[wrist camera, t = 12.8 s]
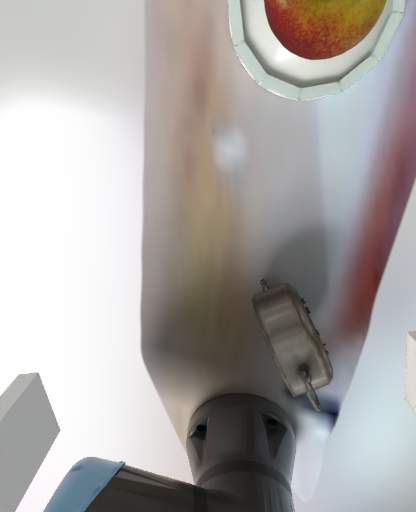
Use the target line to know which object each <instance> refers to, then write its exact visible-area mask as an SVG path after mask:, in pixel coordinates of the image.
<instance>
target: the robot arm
mask: <svg viewBox="0 0 416 512" xmlns="http://www.w3.org/2000/svg"><path fill="white" fill-rule="evenodd" d="M405 386H406V387H405V399H406V400H407V402H408V403H409V404H410V406H411V407H412V409H413V410H414V412H415V413H416V331H412V332H407V353H406V385H405ZM59 432H60V429H59V426H58V423H57V421H56V418H55V415H54V413H53V410H52V407H51V405H50V402H49V399H48V397H47V394H46V392H45V389H44V386H43V384H42V381H41V378H40V376H39V373H30V374H21V375H18V376H17V378H16V379H15V380H14V381H13V382H12V383H11V385H10V386H9V387H8V388H7V390H5V392H4V393H3V394H2V395H1V396H0V512H15V511H16V509H17V507H18V505H19V503H20V501H21V500H22V498H23V496H24V494H25V492H26V491H27V489H28V487H29V485H30V484H31V482H32V480H33V478H34V476H35V475H36V473H37V471H38V469H39V467H40V465H41V464H42V462H43V460H44V458H45V457H46V455H47V453H48V451H49V450H50V448H51V446H52V444H53V442H54V441H55V439H56V437H57V435H58V433H59ZM186 447H187V454H188V458H189V462H190V467H191V471H192V475H193V480H194V484H195V485H192V484H190V483H186V482H182V481H179V480H175V479H172V478H168V477H164V476H161V475H157V474H154V473H151V472H147V471H144V470H141V469H138V468H134V467H131V466H128V465H125V462H123V461H121V462H119V463H118V462H113V461H109V460H105V459H100V458H96V457H87V458H84V459H82V460H80V461H78V462H77V463H76V464H75V465H74V466H73V467H72V468H71V469H70V470H69V472H68V473H67V474H66V476H65V477H64V479H63V480H62V482H61V483H60V485H59V486H58V488H57V489H56V491H55V493H54V495H53V496H52V498H51V500H50V501H49V503H48V504H47V506H46V508H45V510H44V511H43V512H295V510H294V504H293V500H292V494H291V487H290V486H291V480H292V473H293V467H294V460H295V454H296V441H295V436H294V431H293V427H292V424H291V422H290V420H289V418H288V416H287V415H286V414H285V412H284V411H283V410H282V409H281V408H279V407H278V406H277V405H275V404H274V403H272V402H270V401H268V400H266V399H264V398H261V397H258V396H254V395H247V394H232V395H225V396H221V397H218V398H215V399H213V400H211V401H209V402H207V403H206V404H204V405H203V406H201V407H200V408H199V409H198V410H197V411H196V412H195V414H194V415H193V417H192V418H191V420H190V423H189V426H188V433H187V441H186Z"/></svg>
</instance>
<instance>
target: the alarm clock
mask: <svg viewBox="0 0 416 512" xmlns="http://www.w3.org/2000/svg"><path fill="white" fill-rule="evenodd" d="M260 283H261V284H262V286H263V290H264V291H263V292H261V293H258V294H256V295H253V297H252V303H253V307H254V310H255V313H256V316H257V319H258V322H259V324H260V327H261V330H262V332H263V335H264V337H265V339H266V341H267V344H268V346H269V349H270V351H271V354H272V356H273V358H274V361H275V363H276V365H277V367H278V370H279V372H280V374H281V376H282V378H283V380H284V382H285V384H286V386H287V387H288V389H289V391H290V392H291V394H292V395H293V396H295V397H297V396H299V395H301V394H304V393H307V395H308V397H309V399H310V401H311V402H312V404H313V406H314V408H315V409H316V410H317V412H320V411H321V406H320V403H319V401H318V397H317V395H316V393H315V391H314V390H315V389H317V388H320V387H323V386H326V385H328V384H329V383H330V382H331V380H332V377H333V369H332V366H331V363H330V360H329V358H328V356H327V355H328V351H327V350H326V351H325V349H324V347H323V346H324V345H327V344H326V343H325V344H324V345H323V344H322V342H321V340H320V337H319V333H318V331H317V330H316V329H315V327H314V325H313V322H312V320H311V318H310V316H309V313H310V311H309V309H308V308H307V307H305V306H304V303H306V300H305V299H304V298H302V299H300V297H299V295H298V293H297V292H296V290H295V289H294V288H293V287H292V286H290V285H288V284H280V285H277V286H275V287H273V288H270V289H269V288H268V286H267V285H266V281H265V280H264V279H263V280H261V281H260ZM310 391H311V392H312V394H313V396H314V399H315V401H316V403H315V401H314V399H313V397H312V394H311V392H310Z"/></svg>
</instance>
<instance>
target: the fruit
mask: <svg viewBox="0 0 416 512" xmlns="http://www.w3.org/2000/svg"><path fill="white" fill-rule="evenodd" d="M386 1H387V0H264V7H265V13H266V17H267V20H268V24H269V26H270V28H271V31H272V32H273V34H274V35H275V37H276V38H277V39H278V41H279V42H280V43H281V45H282V46H283V47H284V48H285V49H287V50H288V51H289V52H290V53H293V54H295V55H297V56H299V57H301V58H305V59H308V60H322V59H329V58H332V57H335V56H338V55H341V54H343V53H345V52H346V51H348V50H350V49H352V48H353V47H355V46H356V45H357V44H358V43H360V42H361V41H362V40H363V39H364V38H365V37H366V36H367V35H368V34H369V32H370V31H371V30H372V28H373V27H374V26H375V25H376V23H377V21H378V19H379V17H380V16H381V14H382V12H383V9H384V7H385V4H386Z"/></svg>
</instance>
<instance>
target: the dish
mask: <svg viewBox="0 0 416 512" xmlns="http://www.w3.org/2000/svg"><path fill="white" fill-rule="evenodd" d="M228 8H229V28H230V34H231V39H232V42H233V47H234V51H235V52H236V54H237V56H238V58H239V60H240V62H241V64H242V65H243V67H244V69H245V70H246V71H247V73H248V74H249V75H250V76H251V78H252V79H253V80H254V81H256V82H257V84H259V85H260V86H261V87H263V88H264V89H266V90H267V91H269V92H271V93H273V94H275V95H277V96H280V97H283V98H286V99H292V100H295V101H296V100H298V101H302V100H304V101H306V100H315V99H319V98H323V97H327V96H330V95H336V94H340V93H341V92H344V91H345V90H346V89H347V88H349V87H350V86H351V85H352V84H354V83H355V82H356V81H357V80H359V79H360V78H361V77H362V76H364V75H365V74H366V73H367V72H369V71H370V70H371V69H372V68H374V67H375V66H376V65H377V64H379V61H381V60H382V58H383V56H384V54H385V52H386V50H387V48H388V46H389V44H390V42H391V40H392V38H393V36H394V34H395V32H396V30H397V28H398V26H399V24H400V22H401V19H402V17H403V15H404V14H401V13H403V12H404V11H405V0H387V1H386V4H385V7H384V9H383V12H382V14H381V16H380V17H379V19H378V21H377V23H376V25H375V26H374V27H373V28H372V30H371V31H370V32H369V34H368V35H367V36H366V37H365V38H364V39H363V40H362V41H361V42H360V43H358V44H357V45H356V46H355V47H353V48H352V49H350V50H348V51H346V52H345V53H343V54H341V55H338V56H335V57H332V58H329V59H322V60H308V59H305V58H301V57H299V56H297V55H295V54H293V53H290V52H289V51H288V50H287V49H285V48H284V47H283V46H282V45H281V43H280V42H279V41H278V39H277V38H276V37H275V35H274V34H273V32H272V31H271V28H270V26H269V24H268V20H267V17H266V13H265V7H264V0H228Z"/></svg>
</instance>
